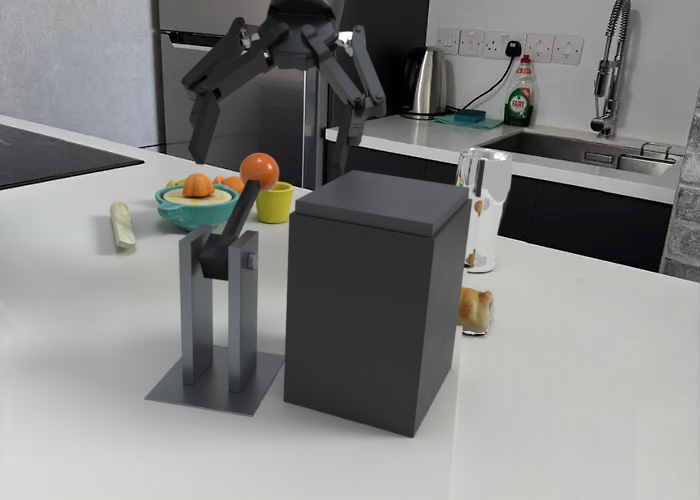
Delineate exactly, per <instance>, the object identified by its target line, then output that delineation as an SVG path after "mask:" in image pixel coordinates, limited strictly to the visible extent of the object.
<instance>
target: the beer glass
mask: <svg viewBox="0 0 700 500" xmlns="http://www.w3.org/2000/svg"><path fill="white" fill-rule="evenodd" d="M513 159H514V156H513V154H511V153H509V152H507V151H503V150H499V149H491V148H482V147H469V148H463V149H461V150H460V152H459V158H458V162H457V167H456V172H455V179H454V185H455V186H462V187H468V188H469V196H468V198H469V199H472V207H471V215H470V223H469V231H468V239H467V247H466V255H465V263H464V268H466V269H473V270H483V269H489V268H492V267H494V266H495V267H496V241H497V236H498V234H499V231H500V227H501V224H502V221H503V218H504V215H505V212H506V208H507V206H508V202H509V197H510V192H511V185H512V175H513Z"/></svg>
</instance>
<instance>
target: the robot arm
mask: <svg viewBox="0 0 700 500" xmlns="http://www.w3.org/2000/svg"><path fill="white" fill-rule="evenodd" d="M345 1H346V0H269V4H268V8H267V11H266V17H265V19H264V21H262V23H260V24H259V25H254V24H248V23H246V21H245V18H244V16H243V17H242V16H236V17H235V18H234V19H233V20H232V23H231V25H230V27H229V29H228V31H227V32H226V34H225V35H224V36H223V37H222V38H220V39H219V41H217V43H216V44H215V45H214V46H213V47H212V48H211V49H210V50H209V51H208V52H207V53H206V54H205V55H204V56H202V58H201V59H199V61H198V62H197V63H196V64H194V66H193V67H192V68H191V69H190V70H189V71H188V72H187V73H186V74H185V75H184V76H183V77H182V78H181V81H180V82H181V85H182V87H183V89H184V92H185V93H186V95H187V98H188V100H190V101H192V102H193V105H192V108H191V111H190V114H189V117H188V119H189V123H190V125H191V127H192V129H193V130H192V134H191V138H190V140H189V144H188V147H187V149H188V151H189V153H190V155H191V157H192V159H193V161H194V163H195V165H199V166H204V165H205V163H206V160H207V156H208V152H209V149H210V146H211V143H212V139H213V136H214V133H215V129H216V126H217V124H218V120H219V117H220V114H221V112H222V111H221V108H220V105H219V103H220V102H221V101H223V100H224V99H226V98H227V97H228V96H230V95H232V94H233V93H234V92H237V90H239V89H240V88H242V87H243V86H244V85H246V84H248V83H249V82H250V81H252V80H253V79H254V78H256V77H257V76H259V75H261V74H264V75H265V74H267V73H269V72H270V71H272V70H273V69H275V68H276V67H277V68H278V70H292V69H294V70H298V71H301V72H309V70H311V69H314V68H315V69H316V71H317V72H318V73H319V75H320V76H321V77H322V78H323V79H325V81H326V82H327V83H328V85H329V86H330V87H331V89H332V90H333V91H334V92H335V94H336V95H337V96H338V97H339V99H340V100H341V102H342V103H343V107H342V111H341V116H340V121H339V125H338V130H337V135H336V139H335V143H334V147H333V153H332V158H331V162H330V163H331V169H332V172H333V173H332V174H333V177H334V180H335V179H337V178H339V177H341V176H343V175H344V174H345V170H346V169H345V168H346V165H347V159H348V155H349V149H350V146H351V147H359V146H360V145H361V143H362V138H363V134H364V129H365V124H366V121H367V119H368V118H370V117H376V118H383V117H385V116H386V115H387V103H386V101H387V100H386V94H385V91H384V88H383V87H382V85H381V82H380V80H379V79H380V78H379V77H378V74H377V71H376V69H375V67H374V64H373V63H372V60H371V58H370V55H369V52H368V50H367V43H366V33H365V31H366V30H365V27H364V26H363V25H360V24H357V25H355V26H353V27H352V30H351V31H340V30H339V29H340V24H341V20H342V16H343V12H344V9H345V8H344V7H345ZM340 47H343V48H344V50H345V52H346V54H348V55H349V57H352V58H353V63H354V67H355V69H356V71H357V74H358V77H359V79H360V82H361V84H362V86H363V87H362V88H363V89H364V91H365V92H363V93H362V92H361V90H359V89H358V87H357V86H356V85H355V83H354V82H353V81H352V80H351V78H350V76H348V74H347V73H346V72H345V71H344V69H343V68H342V67H341V65H340V64H339V63H338V61H337V60H336V59H335V57H334V56H333V53H334V52H336V51H337V50H338V49H339V48H340ZM245 49H248V50H246V52H245ZM265 53H266V55H267V57H266V56H265Z"/></svg>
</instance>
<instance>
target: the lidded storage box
mask: <svg viewBox="0 0 700 500" xmlns="http://www.w3.org/2000/svg"><path fill="white" fill-rule="evenodd" d="M468 196H469V188H468V187H462V186H455V184H448V183H443V182H442V183H441V182H436V181H435V182H434V181H428V180H421V179H414V178H409V177H401V176H395V175H389V174H381V173H377V172H369V171H363V170H355V169H352V170H350V171H349V172H346V173H344V174H343V176H341V177H339V178H337V179H335V178H334V179H333V180H331V181H329V182H327V183H325V184H323V185H322V186H319V187H318V188H315V189H313V190H312V191H310V192H308V193H306V194H304V195H302V196H300V197H299V198H297V199H295V200H294V201H295V203H294V210H293V211H291V212H289V216H288V243H287V270H286V271H287V275H286V276H287V277H286V304H285V305H286V306H285V307H286V308H285V309H286V312H285V341H284V355H285V362H284V371H283V372H284V374H283V403H285V404H287V403H288V404H290V405H293V406H298V407H301V408H305V409H308V410H312V411H315V412H318V413H322V414H326V415H329V416H334V417H336V418H340V419H343V420H347V421H350V422H354V423H356V424H357V423H358V424H361V425H364V426H368V427H372V428H374V429H379V430H382V431H386V432H390V433H393V434H396V435H400V436H403V437H407V438H410V439H414V438H415V436H416V434H417V433H418V431H419V429H420V427H421V425H422V424H423V422H424V419H425V417H426V416H427V415H428V412H429V410H430V408H431V406H432V404H433V403H434V400H435V399H436V397H437V395H438V393H439V391H440V390H441V387H442V386H443V384H444V382H445V380H446V378H447V376H448V375H449V373H450V371H451V369H452V365H453V359H454V357H453V356H454V350H455V340H456V334H457V333H456V332H457V327H458V326H457V325H458V324H457V318H458V310H459V302H460V294H461V287H462V285H463V278H464V271H465V270H464V263H465V255H466V247H467V239H468V231H469V223H470V215H471V207H472V199H469V198H468Z"/></svg>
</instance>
